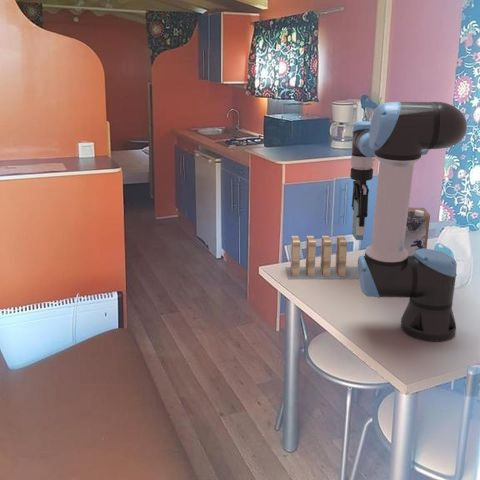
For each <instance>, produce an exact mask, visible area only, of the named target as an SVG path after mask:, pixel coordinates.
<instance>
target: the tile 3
mask: <svg viewBox="0 0 480 480" xmlns="http://www.w3.org/2000/svg"><path fill="white" fill-rule="evenodd" d="M332 243H333V242H332V240H331V238H330V236H329V235H322V236H321V249H320V254H321V255H320V266H319V267H320V270H321V272H322V275H323V276H330V267H331V262H332V261H331V260H332Z"/></svg>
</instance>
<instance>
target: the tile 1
mask: <svg viewBox="0 0 480 480" xmlns="http://www.w3.org/2000/svg"><path fill="white" fill-rule="evenodd" d="M290 243H291V244H290V245H291V247H290V267H291V273H292V277H299V268H300V267H301V266H300V264H301V261H300V260H301V241H300V237H299V236H298V235H291V242H290Z"/></svg>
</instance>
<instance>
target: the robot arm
mask: <svg viewBox="0 0 480 480" xmlns="http://www.w3.org/2000/svg"><path fill="white" fill-rule="evenodd" d="M467 128H468V125H467V120H466V117H465V115H464V113H462V111H461V110H460V109H459V108H457V107H456V106H454V105H452V104H450V103H448V102H442V101H396V100H395V101H391V102H383V103H380V104H379V105H378V106H377V107H376V108H375V110H374V111H373V115H372V117H371V121H367V120H366V121H363V120H362V121H355V122H354V123H353V129H352V141H351V142H352V144H351V155H350V156H351V157H350V158H351V160H350V166H351V168H350V176H349V177H350V179H351V180H353V181H352V183H353V186H352V199H351V208H352V209H351V210H352V213H353V212H354V199H355V200H358V216H356V218H357V228H356V235H363V236H365V231H366V228H365V227H366V218H367V217H368V215H369V214H368V208H369V206H368V203H369V192H370V189H369V188H368V187H369V186H368V184H367V181H371V180H372V179H373V175H374V169H373V167H374V161H376V159H377V160H378V162H379V164H378V173H377V175H378V176H377V185H376V195H375V205H374V214H373V224H372V225H373V226H372V234H371V236H372V237H371V244H370V245H367V247H366V248H365V250H364V251H365V252H364V255H363V254H362V255H359V256H357V258H358V259H357V267H358V274H359V279H358V280H359V281H358V282H359V286H360V288H361V292H362V294H363V295H364V296H365V297H367V298H369V297H370V298H378V299H381V298H409V300H408V303H407V305H406V308H405V310H404V311H403V313H402V316H401V319H400V330H402V331H403V332H404V333H405V334H406V335H408V336H411V337H412V338H415V339H418V340H422V341H427V342H443V341H448V340H451V339H452V338H454V337H455V335H456V332H457V331H456V330H457V324H456V320H455V316H454V311H453V300H454V294H455V285H456V279H457V276H458V274H457V260H456V259H455V258H454V257H453V256H451V255H449V254H448V253H445V252H443V251H439V250H436V249H431V248H427V249H417V250H415V251H414V253H413V256H408V252H407V250H406V249H405V248H404V240H405V232H406V223H407V215H408V207H409V206H410V200H411V199H410V197H411V190H412V183H413V176H414V173H413V172H414V165H415V163H417V162H418V161H420V160H421V159H422V156H425V155H427V154H428V152H429V151H430V150H438V149H439V150H440V149H447V148H452V147H454V146H456V145H458V144H459V143H460V142H461V141H462V140H463V139H464V137H465V136H466V133H467V130H468V129H467ZM409 208H410V207H409ZM363 213H364V214H363ZM352 228H353V214H352V217H351V229H352Z"/></svg>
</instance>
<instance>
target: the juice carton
mask: <svg viewBox="0 0 480 480" xmlns="http://www.w3.org/2000/svg"><path fill="white" fill-rule="evenodd" d="M425 236H426V219H425V218H424V211H421V210H415V211H408V215H407V223H406V232H405V240H404V248H405V249H406V250H407V252H408V256H413V253H414V251H415V250H417V249H424V245H425Z"/></svg>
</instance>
